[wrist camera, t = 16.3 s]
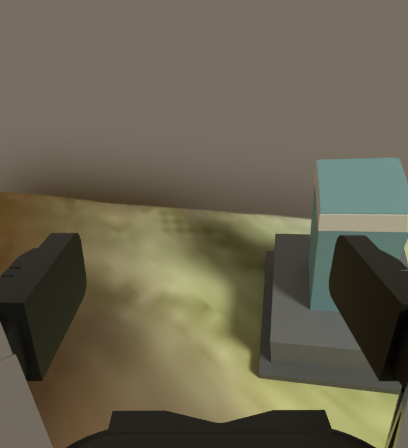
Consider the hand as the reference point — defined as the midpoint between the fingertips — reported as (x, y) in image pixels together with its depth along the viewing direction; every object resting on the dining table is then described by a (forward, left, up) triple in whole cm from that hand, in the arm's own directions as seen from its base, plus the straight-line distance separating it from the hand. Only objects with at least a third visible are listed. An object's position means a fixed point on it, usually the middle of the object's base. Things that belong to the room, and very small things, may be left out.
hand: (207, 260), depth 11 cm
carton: (+7, +11, -17) cm, 22 cm away
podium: (+7, +11, -22) cm, 26 cm away
